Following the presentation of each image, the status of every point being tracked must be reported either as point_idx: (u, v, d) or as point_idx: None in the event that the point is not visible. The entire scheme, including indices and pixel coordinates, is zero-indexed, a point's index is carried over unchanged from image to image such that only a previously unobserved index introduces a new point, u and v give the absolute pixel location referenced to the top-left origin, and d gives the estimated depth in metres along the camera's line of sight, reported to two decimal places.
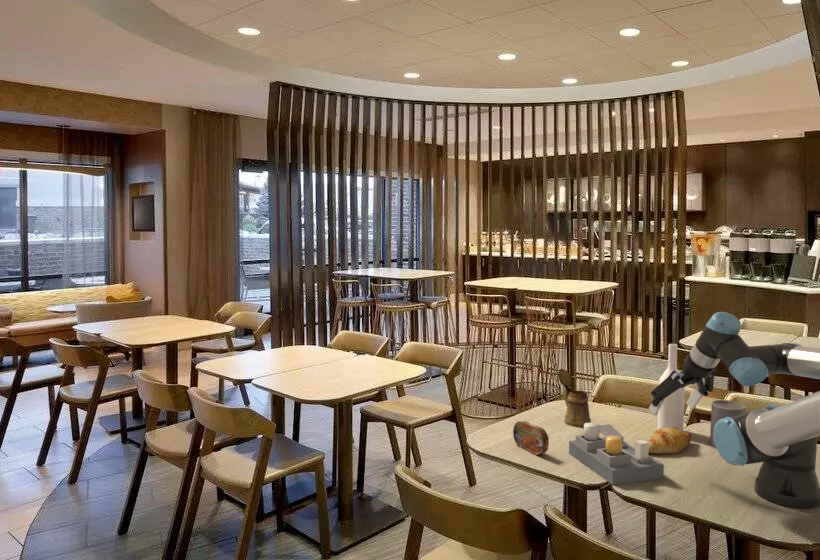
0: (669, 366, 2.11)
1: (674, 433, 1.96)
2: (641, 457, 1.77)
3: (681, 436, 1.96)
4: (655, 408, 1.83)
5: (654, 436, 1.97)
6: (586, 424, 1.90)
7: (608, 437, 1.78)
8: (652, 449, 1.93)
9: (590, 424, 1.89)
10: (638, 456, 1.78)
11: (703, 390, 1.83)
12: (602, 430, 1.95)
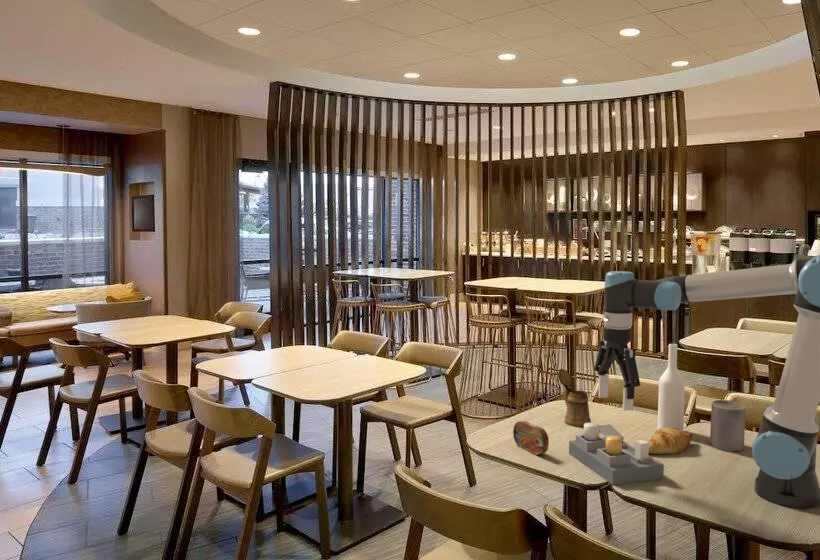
0: (669, 366, 2.11)
1: (674, 434, 1.96)
2: (641, 457, 1.77)
3: (681, 436, 1.95)
4: (631, 401, 1.70)
5: (654, 436, 1.97)
6: (586, 424, 1.90)
7: (608, 437, 1.78)
8: (652, 449, 1.93)
9: (590, 424, 1.89)
10: (638, 456, 1.78)
11: None
12: (602, 430, 1.95)
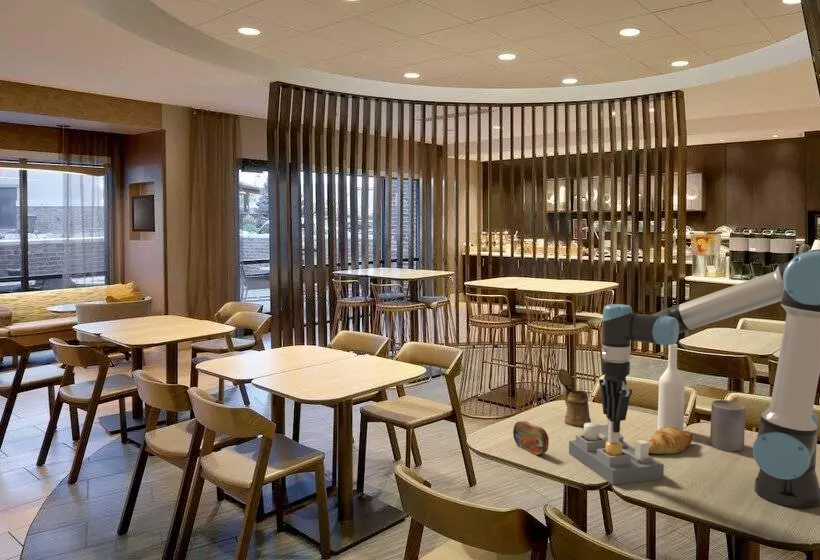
0: (669, 366, 2.11)
1: (674, 434, 1.95)
2: (641, 457, 1.77)
3: (682, 437, 1.95)
4: (617, 434, 1.77)
5: (654, 436, 1.97)
6: (586, 424, 1.90)
7: (608, 442, 1.78)
8: (652, 449, 1.93)
9: (590, 424, 1.89)
10: (638, 456, 1.78)
11: None
12: (602, 430, 1.95)
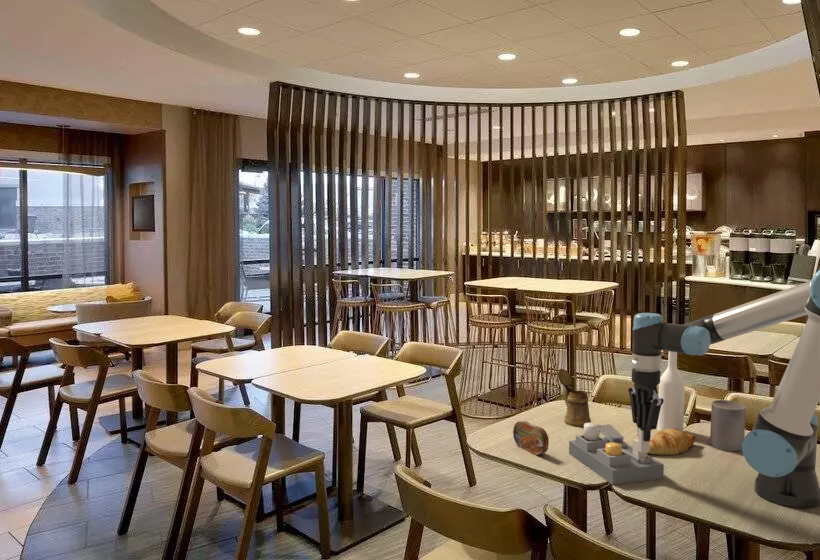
0: (669, 366, 2.11)
1: (675, 435, 1.95)
2: (639, 456, 1.78)
3: (683, 438, 1.94)
4: (647, 443, 1.77)
5: (655, 437, 1.97)
6: (586, 424, 1.90)
7: (608, 444, 1.78)
8: (652, 450, 1.93)
9: (590, 424, 1.89)
10: (636, 455, 1.79)
11: None
12: (602, 430, 1.95)
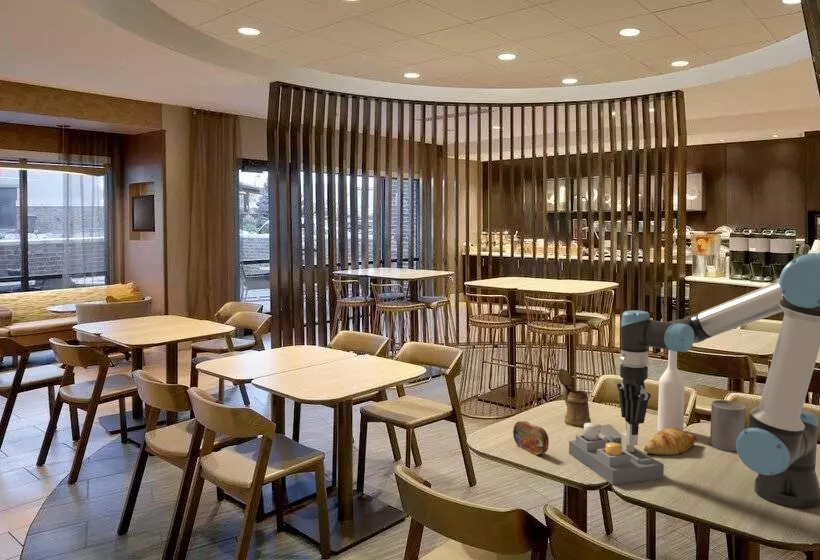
0: (669, 366, 2.11)
1: (675, 435, 1.95)
2: (627, 449, 1.83)
3: (683, 438, 1.94)
4: (635, 437, 1.82)
5: (655, 437, 1.97)
6: (586, 424, 1.90)
7: (608, 444, 1.78)
8: (651, 450, 1.92)
9: (590, 424, 1.89)
10: (624, 448, 1.84)
11: None
12: (602, 430, 1.95)
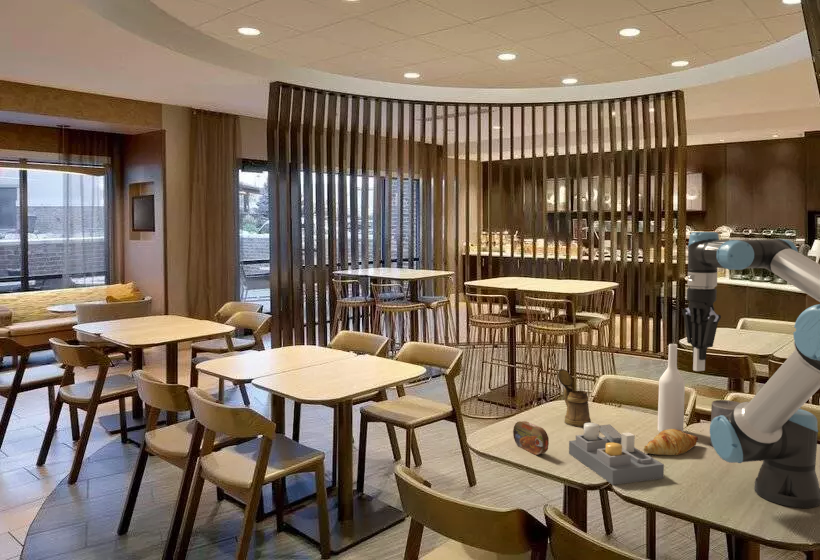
0: (669, 366, 2.11)
1: (676, 435, 1.94)
2: (627, 449, 1.83)
3: (683, 438, 1.94)
4: (702, 362, 1.77)
5: (656, 437, 1.96)
6: (586, 424, 1.90)
7: (608, 444, 1.78)
8: (651, 450, 1.92)
9: (590, 424, 1.89)
10: (624, 448, 1.84)
11: None
12: (602, 430, 1.95)
